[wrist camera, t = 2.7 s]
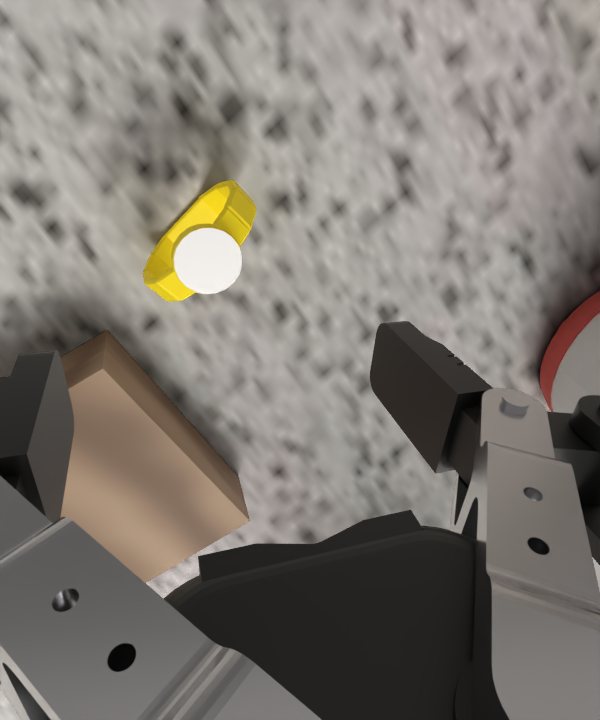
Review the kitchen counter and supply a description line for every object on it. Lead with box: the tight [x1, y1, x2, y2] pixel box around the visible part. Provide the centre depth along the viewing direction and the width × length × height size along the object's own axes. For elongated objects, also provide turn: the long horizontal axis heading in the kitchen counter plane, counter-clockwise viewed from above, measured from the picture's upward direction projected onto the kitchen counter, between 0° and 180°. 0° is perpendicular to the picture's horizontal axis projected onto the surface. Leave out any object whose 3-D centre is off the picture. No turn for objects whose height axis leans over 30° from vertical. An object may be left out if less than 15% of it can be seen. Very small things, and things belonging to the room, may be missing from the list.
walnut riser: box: [60, 330, 250, 583], centre depth 27 cm, size 18×14×4 cm
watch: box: [143, 180, 256, 301], centre depth 21 cm, size 6×3×6 cm, turn 131°
